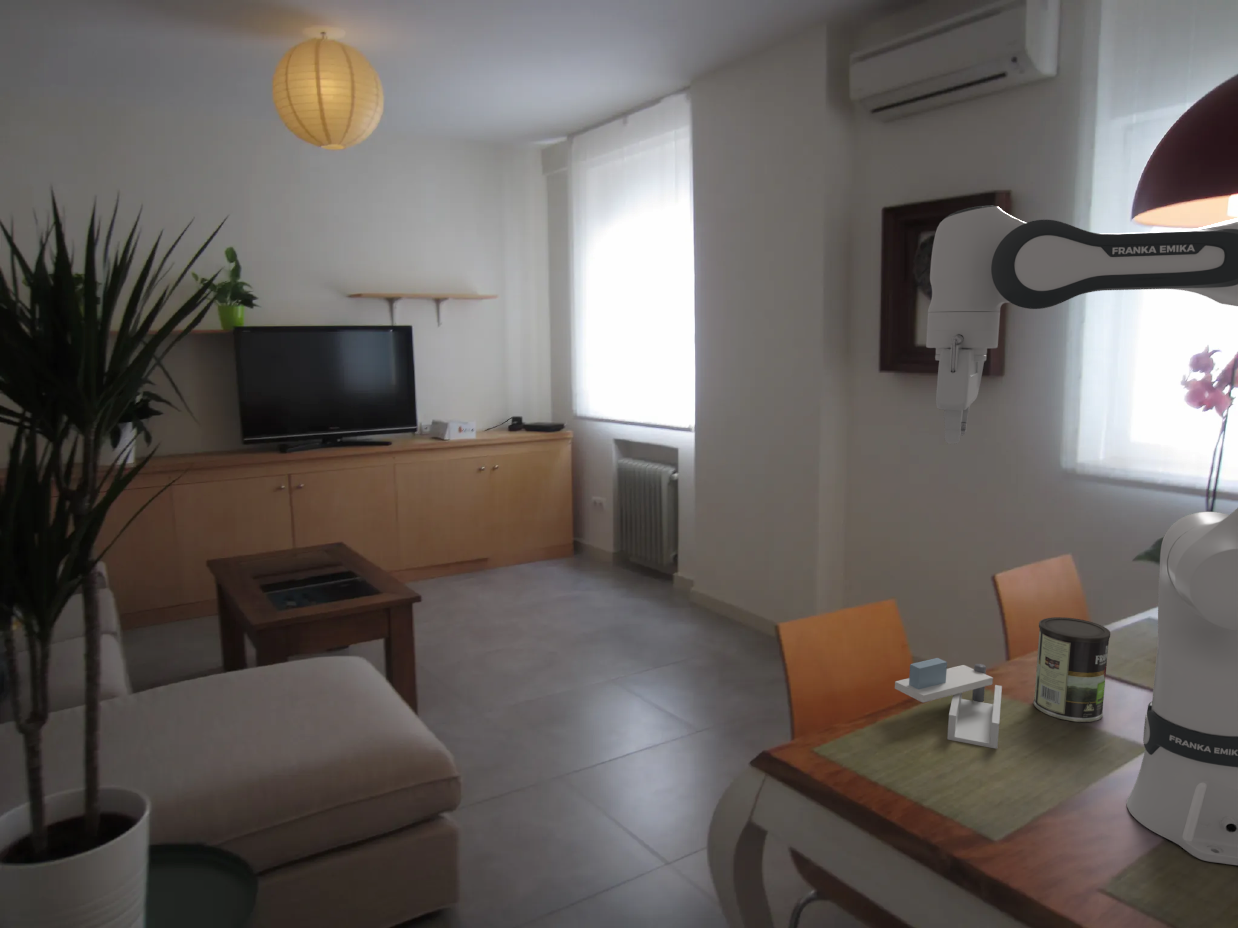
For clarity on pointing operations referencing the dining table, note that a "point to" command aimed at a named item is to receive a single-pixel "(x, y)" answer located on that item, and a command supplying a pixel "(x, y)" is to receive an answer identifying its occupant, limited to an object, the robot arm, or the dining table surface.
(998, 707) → the duct
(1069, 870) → the dining table surface
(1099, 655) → the coffee can
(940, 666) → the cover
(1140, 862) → the dining table surface
